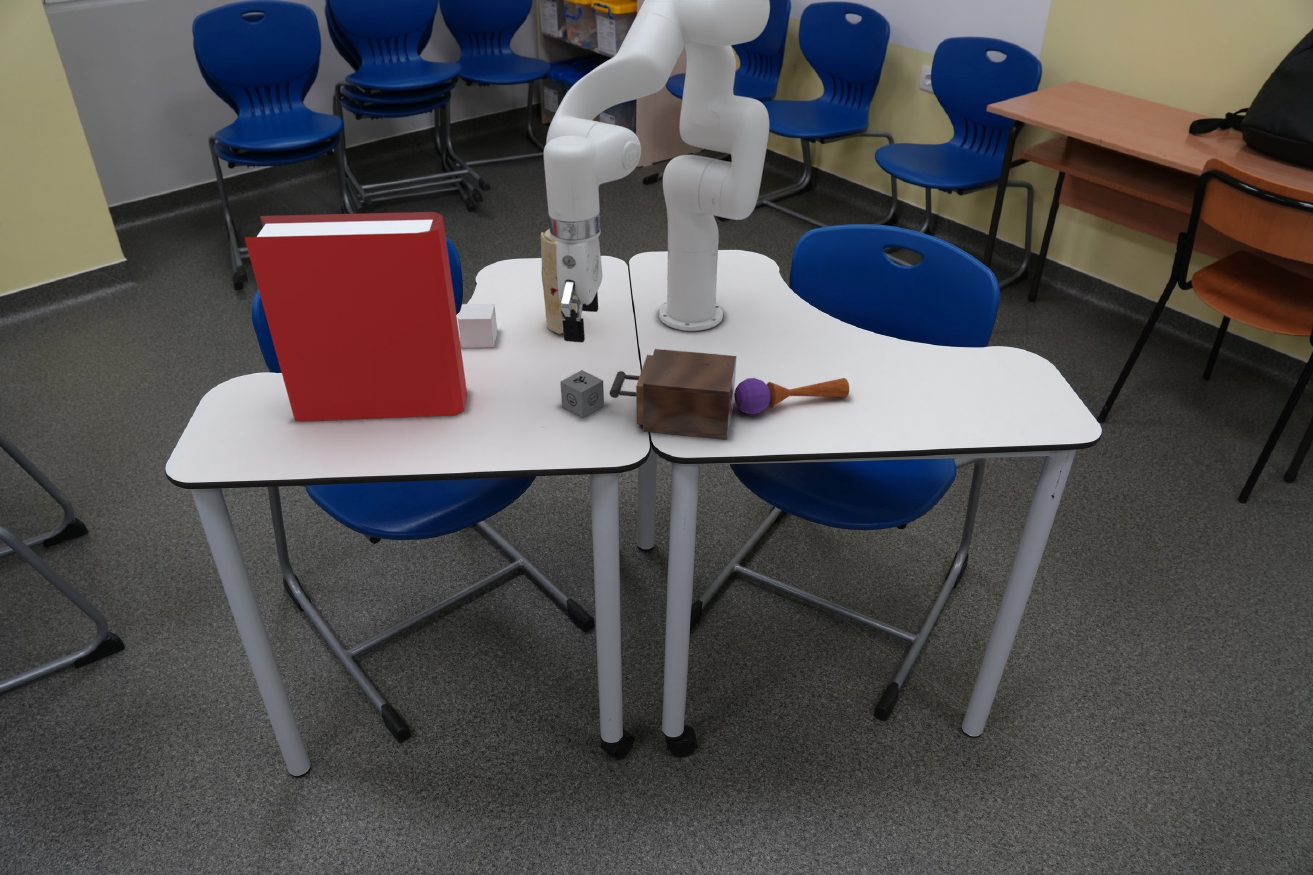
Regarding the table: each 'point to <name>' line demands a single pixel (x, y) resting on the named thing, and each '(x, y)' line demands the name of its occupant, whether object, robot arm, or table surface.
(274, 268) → the book
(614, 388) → the drawer
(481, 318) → the white cube
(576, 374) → the dice cube
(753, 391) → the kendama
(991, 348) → the table surface
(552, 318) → the food model
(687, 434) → the cabinet
